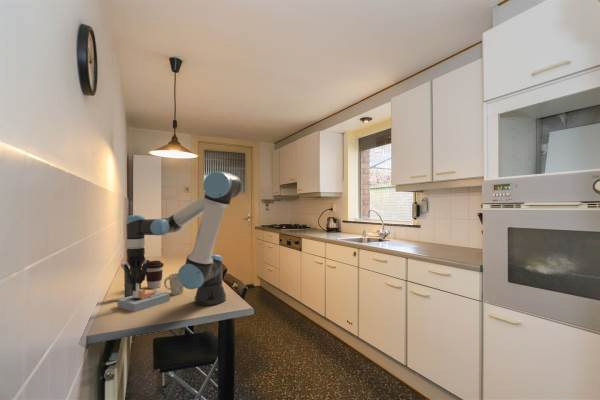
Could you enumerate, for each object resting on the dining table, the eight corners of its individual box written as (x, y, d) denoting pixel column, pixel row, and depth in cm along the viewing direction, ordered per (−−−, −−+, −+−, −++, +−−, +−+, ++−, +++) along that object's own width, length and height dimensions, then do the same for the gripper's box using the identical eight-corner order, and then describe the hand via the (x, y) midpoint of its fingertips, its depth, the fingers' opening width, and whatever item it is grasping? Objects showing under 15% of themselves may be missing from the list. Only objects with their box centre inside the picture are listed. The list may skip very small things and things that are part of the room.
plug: (138, 296, 162) (137, 267, 162) (129, 299, 158) (129, 268, 158) (132, 295, 164) (132, 266, 164) (124, 297, 160) (124, 267, 160)
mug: (179, 295, 163) (179, 276, 163) (158, 294, 165) (158, 276, 166) (188, 291, 171) (188, 273, 171) (168, 290, 174) (168, 272, 174)
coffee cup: (166, 284, 185) (166, 259, 185) (159, 289, 175) (159, 263, 175) (149, 285, 185) (149, 260, 185) (141, 289, 175) (141, 263, 175)
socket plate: (169, 300, 155) (169, 292, 155) (134, 312, 139) (134, 302, 139) (152, 296, 162) (152, 288, 162) (117, 307, 146) (117, 297, 146)
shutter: (155, 295, 152) (155, 287, 152) (141, 299, 146) (141, 291, 146) (146, 293, 155) (146, 285, 155) (133, 296, 149) (133, 289, 149)
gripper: (143, 245, 154) (144, 292, 154) (117, 248, 143) (118, 299, 143) (153, 246, 151) (153, 294, 150) (126, 249, 139) (127, 302, 139)
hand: (136, 297), depth 147 cm, fingers closed
